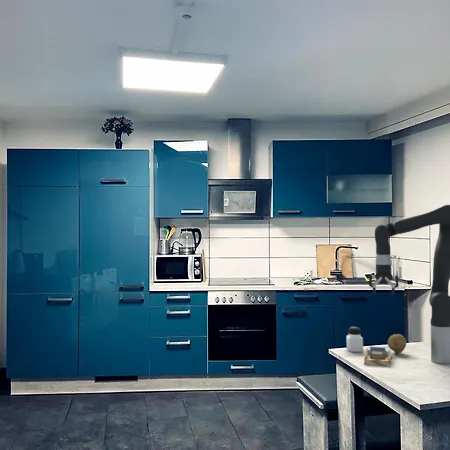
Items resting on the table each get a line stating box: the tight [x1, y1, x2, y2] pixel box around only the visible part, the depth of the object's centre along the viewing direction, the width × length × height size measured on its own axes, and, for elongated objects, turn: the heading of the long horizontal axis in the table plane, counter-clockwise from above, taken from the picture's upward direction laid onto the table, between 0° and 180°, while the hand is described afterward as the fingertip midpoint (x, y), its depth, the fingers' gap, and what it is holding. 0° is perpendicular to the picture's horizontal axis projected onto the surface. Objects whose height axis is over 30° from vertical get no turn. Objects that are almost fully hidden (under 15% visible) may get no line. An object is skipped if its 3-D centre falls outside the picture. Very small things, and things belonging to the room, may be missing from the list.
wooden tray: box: [363, 347, 392, 368], centre depth 236 cm, size 12×19×4 cm, turn 161°
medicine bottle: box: [346, 326, 364, 353], centre depth 256 cm, size 7×7×12 cm
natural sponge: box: [387, 333, 407, 355], centre depth 249 cm, size 9×9×10 cm
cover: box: [367, 345, 389, 355], centre depth 240 cm, size 9×8×4 cm
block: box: [372, 351, 382, 360], centre depth 232 cm, size 4×4×4 cm
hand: (383, 295), depth 247 cm, fingers open, 8 cm apart
